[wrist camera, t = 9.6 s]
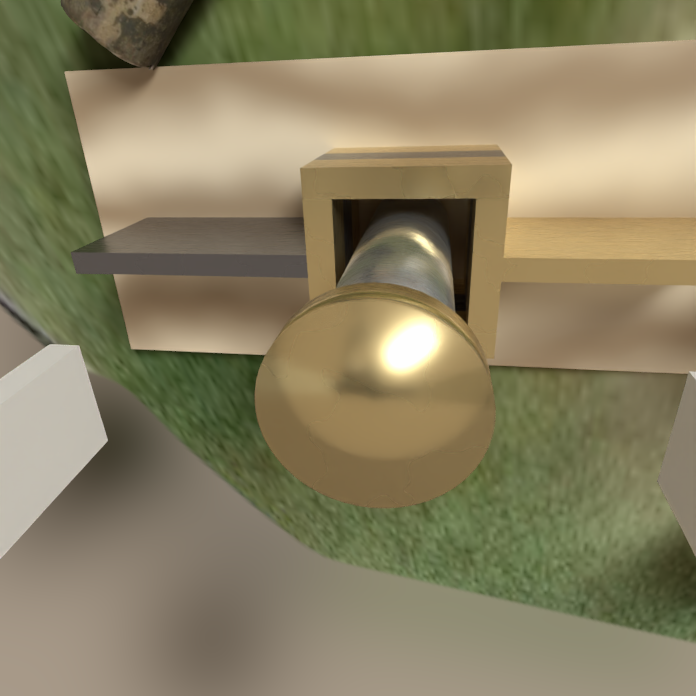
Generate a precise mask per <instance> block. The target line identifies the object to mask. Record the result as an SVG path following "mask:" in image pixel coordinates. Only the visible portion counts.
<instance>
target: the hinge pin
mask: <svg viewBox="0 0 696 696" xmlns="http://www.w3.org/2000/svg"><path fill="white" fill-rule="evenodd" d="M255 410H256V415H257V420H258V423H259V426H260V429H261V432H262V434H263V436H264V438H265V440H266V442H267V444H268V446H269V448H270V449H271V451H272V452H273V454H274V455H275V457H276V458H277V459H278V460H279V461H280V462H281V464H282V465H283V466H284V467H285V468H286V469H287V470H288V471H289V472H290V473H291V474H293V475H294V476H295V477H296V478H297V479H299V480H300V481H301V482H303V483H304V484H305V485H307V486H309V487H310V488H312V489H314V490H316V491H317V492H319V493H321V494H323V495H326V496H328V497H330V498H333V499H335V500H338V501H341V502H344V503H348V504H353V505H357V506H363V507H371V508H397V507H405V506H411V505H416V504H419V503H423V502H426V501H429V500H431V499H434V498H436V497H438V496H441V495H443V494H444V493H446V492H448V491H450V490H451V489H453V488H455V487H456V486H457V485H458V484H460V483H461V482H462V481H464V480H465V479H466V478H467V477H468V476H469V475H470V474H471V473H472V472H473V471H474V470H475V468H476V467H477V466H478V464H479V463H480V462H481V460H482V459H483V457H484V455H485V453H486V451H487V449H488V447H489V444H490V442H491V439H492V436H493V431H494V426H495V410H496V407H495V400H494V393H493V387H492V382H491V376H490V370H489V366H488V362H487V359H486V356H485V353H484V351H483V349H482V346H481V344H480V342H479V340H478V339H477V337H476V336H475V334H474V333H473V331H472V330H471V328H470V327H469V326H468V325H467V324H466V323H465V322H464V320H463V319H462V318H461V317H460V316H459V315H457V314H456V313H455V303H454V289H453V275H452V261H451V247H450V233H449V220H448V215H447V212H446V210H445V207H444V206H443V204H442V203H441V202H440V200H439V199H383V200H382V201H381V203H380V204H379V205H378V207H377V209H376V211H375V213H374V215H373V217H372V219H371V220H370V222H369V224H368V226H367V228H366V230H365V232H364V234H363V236H362V238H361V240H360V242H359V244H358V246H357V248H356V250H355V252H354V254H353V255H352V257H351V259H350V261H349V263H348V265H347V267H346V269H345V271H344V273H343V275H342V277H341V279H340V281H339V283H338V285H337V287H336V288H335V289H333V290H330V291H327V292H325V293H323V294H321V295H319V296H317V297H315V298H314V299H312V300H311V301H309V302H308V303H306V304H305V305H303V306H302V307H301V308H300V309H299V310H298V311H297V312H295V313H294V314H293V316H292V317H291V318H290V319H289V320H288V321H287V323H286V324H285V325H284V327H283V329H282V330H281V332H280V333H279V335H278V336H277V338H276V339H275V341H274V342H273V344H272V345H271V347H270V349H269V350H268V352H267V354H266V355H265V357H264V359H263V361H262V364H261V366H260V368H259V371H258V375H257V379H256V385H255Z"/></svg>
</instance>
